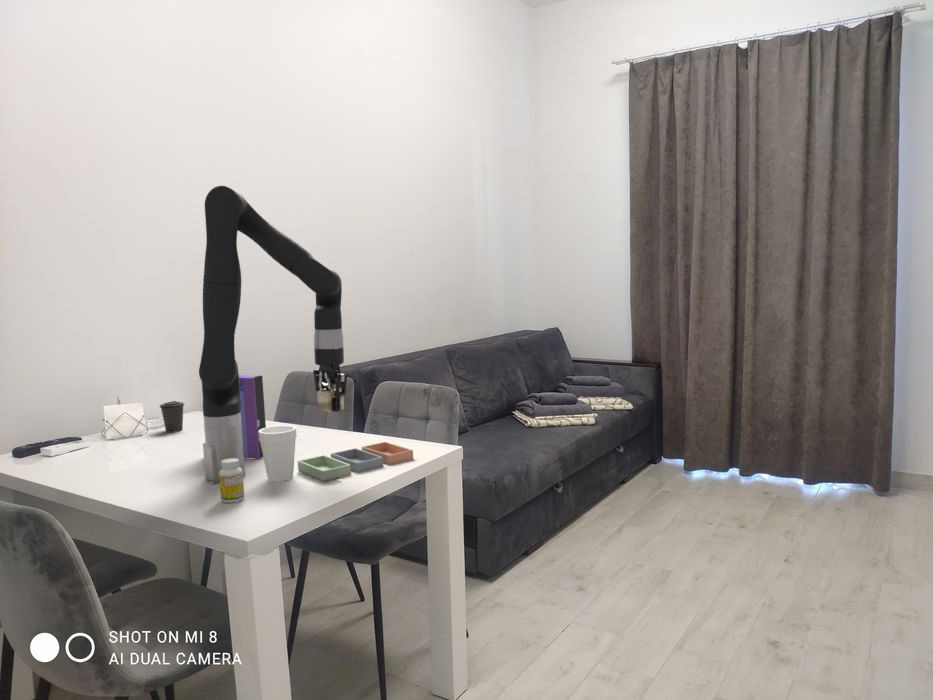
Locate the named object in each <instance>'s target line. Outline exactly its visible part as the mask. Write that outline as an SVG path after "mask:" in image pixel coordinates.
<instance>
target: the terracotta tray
mask: <svg viewBox="0 0 933 700" xmlns="http://www.w3.org/2000/svg"><path fill="white" fill-rule="evenodd" d="M361 450H363V451H366V452H369V453H372V454H375V455H378V456H381V457H383V464H387V465H393V464H397V463H400V462H401V463H402V462H405V461H409V460H414V451H413V450H414V449H410V448H407V447H404V446H401V445H397V444H394V443H390V442H388V441H383V442H378V443H377V442H376V443H374V444H373V443H372V444H368V445H364V446H361Z"/></svg>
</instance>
